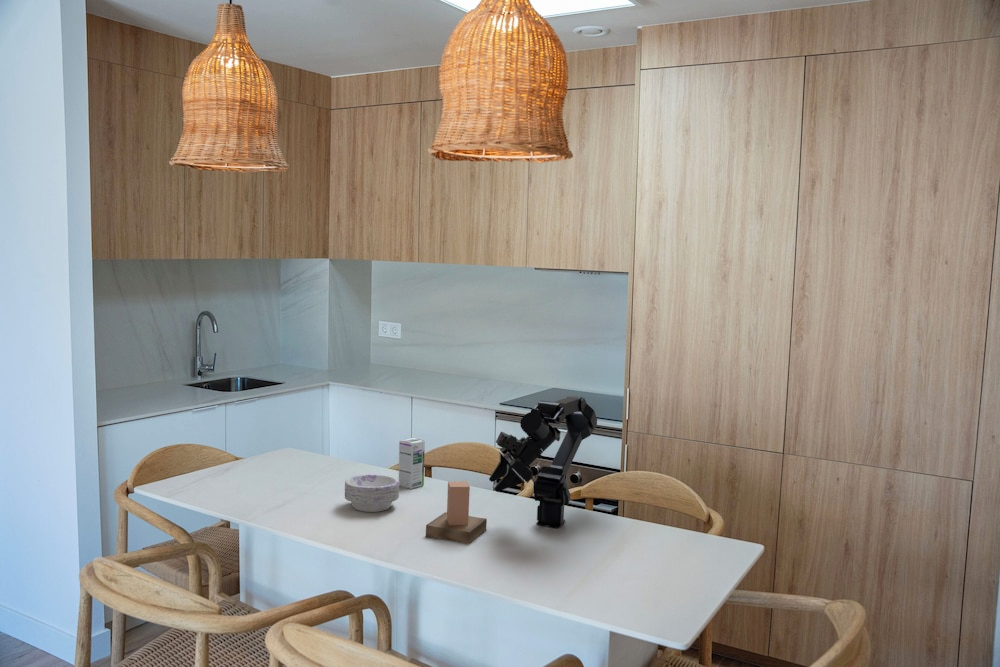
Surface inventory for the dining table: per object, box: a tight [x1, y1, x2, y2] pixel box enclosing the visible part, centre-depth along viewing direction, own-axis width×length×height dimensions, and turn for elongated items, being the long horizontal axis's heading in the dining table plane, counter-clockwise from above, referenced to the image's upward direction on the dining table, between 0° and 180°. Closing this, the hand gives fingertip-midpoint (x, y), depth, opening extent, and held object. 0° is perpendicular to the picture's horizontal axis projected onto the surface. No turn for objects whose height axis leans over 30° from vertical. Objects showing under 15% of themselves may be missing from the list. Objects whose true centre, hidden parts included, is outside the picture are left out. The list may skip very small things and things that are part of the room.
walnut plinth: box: [425, 511, 488, 545], centre depth 212 cm, size 12×12×3 cm
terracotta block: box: [446, 480, 471, 525], centre depth 211 cm, size 5×5×10 cm
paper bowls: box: [344, 474, 400, 513], centre depth 230 cm, size 15×15×8 cm
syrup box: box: [398, 437, 426, 490], centre depth 253 cm, size 6×6×14 cm
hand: (492, 485), depth 212 cm, fingers open, 9 cm apart
